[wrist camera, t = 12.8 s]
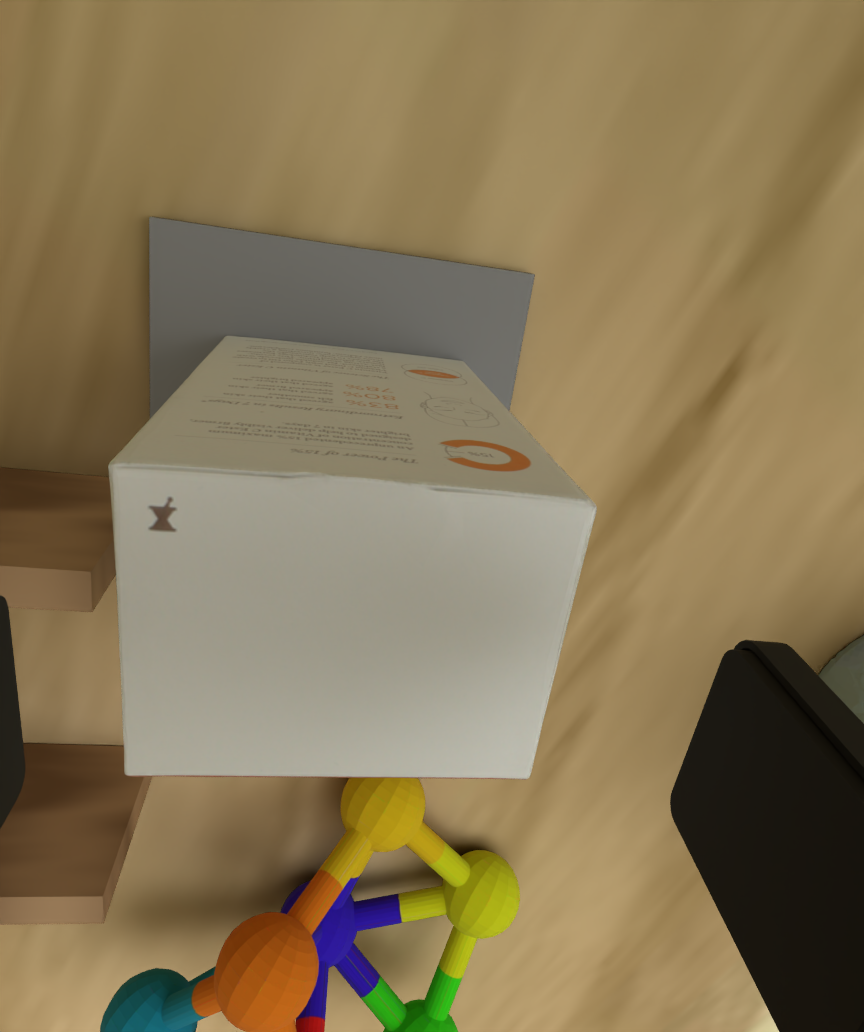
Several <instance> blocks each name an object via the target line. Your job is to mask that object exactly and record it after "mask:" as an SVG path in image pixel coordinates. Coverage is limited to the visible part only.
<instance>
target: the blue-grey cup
mask: <svg viewBox="0 0 864 1032" xmlns="http://www.w3.org/2000/svg"><path fill="white" fill-rule="evenodd" d="M818 676H819V677H820V678H821V679H822V680H823V681H824V682H825V683H826V684H827V685H828V687H829V688H830V689H831V690H832V691H833V692H834V693H835V694H836V695H837V696H838V697H839V698H840V699H841V700H842V701H843V702H844V703H845V704H846V705H847V707H848V708H849V709H850V710H851V711H852V712H853V713H854V714H855V715H856V716H857V717H858V718H859V719H860V720H861V721H862V722H863V723H864V635H863V636H862V637H860V638H859V639H857V640H855V641H853V642H852V643H850V644H849V645H848V646H847V647H846V648H845V649H844V650H842V651H840V652H839V653H837V655H836V657H835V658H833V659H831V660H830V662H829V663H828V664H827V665H826V666H825V667H824V668H823V670H822V671H821V672H820V674H819V675H818Z"/></svg>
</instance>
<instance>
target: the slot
mask: <svg viewBox="0 0 864 1032" xmlns="http://www.w3.org/2000/svg"><path fill="white" fill-rule="evenodd" d="M115 575H116V569H115V552H114V536H113V521H112V506H111V491H110V480H109V477H102V476H91V475H80V474H68V473H57V472H46V471H35V470H23V469H12V468H1V467H0V595H1V596H3V597H5V599H6V601H7V604H8V607H12V608H29V609H46V610H64V611H81V612H93V610H94V609H95V607H96V605H97V604H98V602H99V600H100V599H101V597H102V596H103V594H104V592H105V591H106V589H107V588H108V586H109V584H110V583H111V581H112V580H113V578H114V576H115ZM23 748H24V757H25V778H24V782H23V786H22V789H21V792H20V794H19V796H18V799H17V800H16V802H15V804H14V806H13V808H12V809H11V811H10V813H9V815H8V816H7V818H6V820H5V822H4V824H3V825H2V827H1V829H0V925H5V924H84V923H104V921H105V918H106V915H107V912H108V909H109V906H110V903H111V900H112V897H113V894H114V891H115V888H116V885H117V882H118V879H119V876H120V873H121V869H122V866H123V863H124V860H125V857H126V854H127V851H128V848H129V845H130V842H131V839H132V836H133V833H134V830H135V827H136V824H137V821H138V818H139V815H140V812H141V809H142V806H143V803H144V800H145V797H146V794H147V791H148V788H149V785H150V782H151V779H152V776H146V777H132V776H127V775H126V774H125V772H124V746H101V745H65V744H29V743H23Z"/></svg>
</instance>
